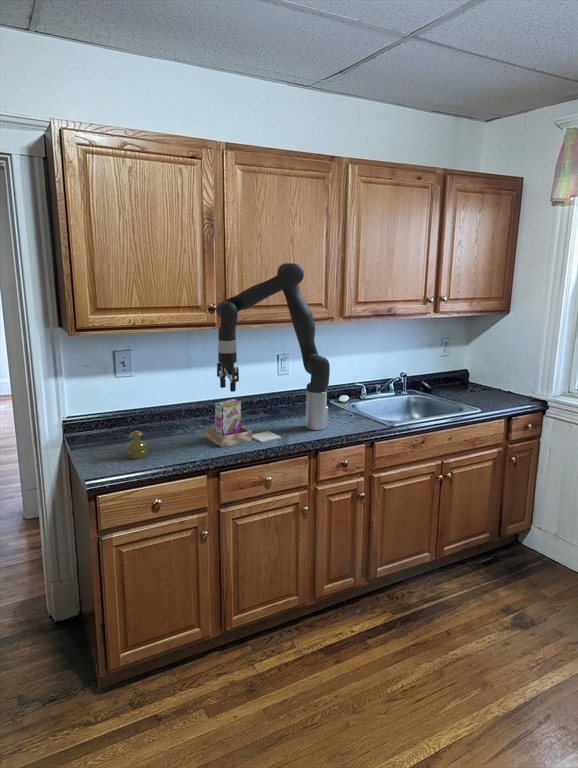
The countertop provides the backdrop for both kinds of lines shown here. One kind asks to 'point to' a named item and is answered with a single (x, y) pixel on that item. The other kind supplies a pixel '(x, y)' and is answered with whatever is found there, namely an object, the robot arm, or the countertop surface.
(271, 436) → the mat
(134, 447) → the brass calibration weight
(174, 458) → the countertop surface
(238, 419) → the candy bar box
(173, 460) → the countertop surface
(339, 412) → the countertop surface
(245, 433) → the wooden square frame
